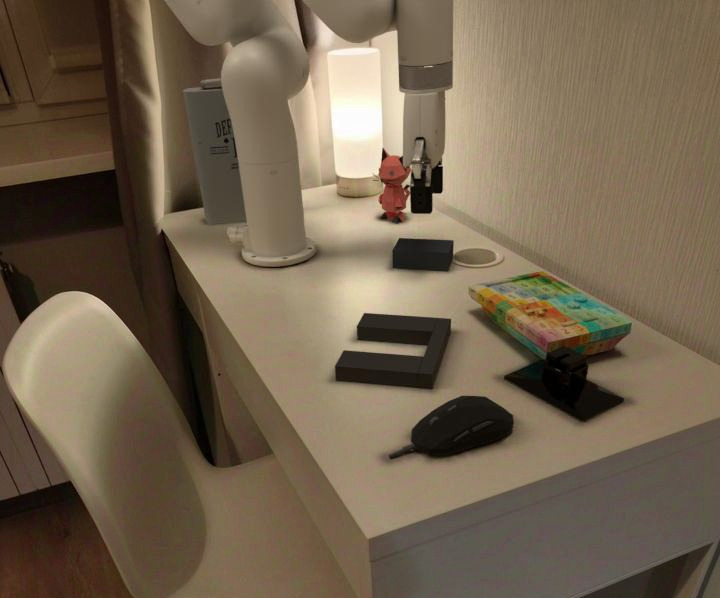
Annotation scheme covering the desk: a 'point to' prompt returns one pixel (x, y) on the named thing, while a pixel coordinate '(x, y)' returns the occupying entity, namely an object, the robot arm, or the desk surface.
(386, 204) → the cat figurine
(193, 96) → the flask
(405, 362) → the charcoal u-shaped block
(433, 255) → the slate block
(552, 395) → the build plate
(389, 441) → the desk surface
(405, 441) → the desk surface
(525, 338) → the puzzle game
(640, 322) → the desk surface
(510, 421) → the gaming mouse
